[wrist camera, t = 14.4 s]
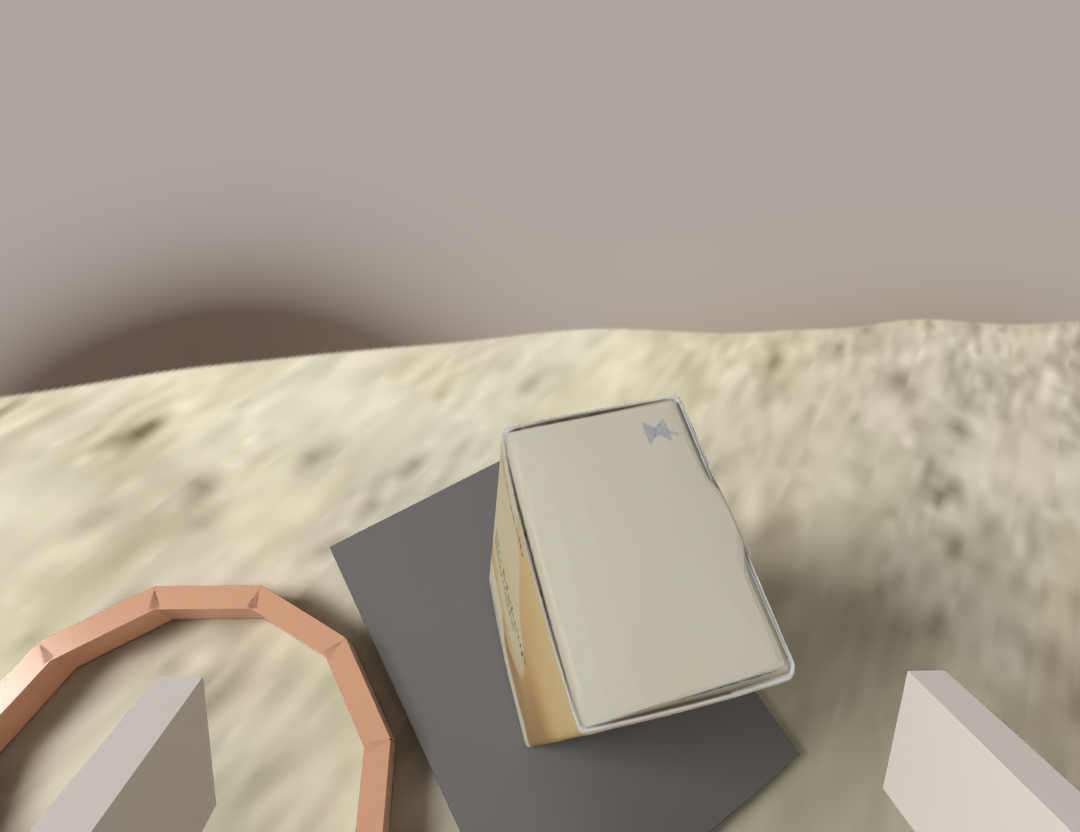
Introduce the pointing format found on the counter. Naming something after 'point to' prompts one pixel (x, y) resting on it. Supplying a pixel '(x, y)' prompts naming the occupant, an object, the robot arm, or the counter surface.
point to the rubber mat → (489, 708)
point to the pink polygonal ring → (59, 655)
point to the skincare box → (622, 575)
